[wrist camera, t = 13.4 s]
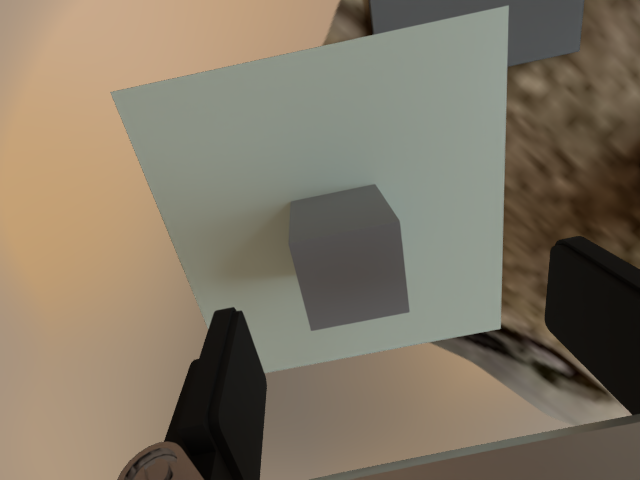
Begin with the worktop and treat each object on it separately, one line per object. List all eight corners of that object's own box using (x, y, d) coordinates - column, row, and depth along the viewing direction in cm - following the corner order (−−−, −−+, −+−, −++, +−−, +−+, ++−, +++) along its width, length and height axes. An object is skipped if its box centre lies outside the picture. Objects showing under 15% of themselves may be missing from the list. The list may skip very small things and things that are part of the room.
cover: (394, 38, 31) (593, -20, 10) (410, 212, 38) (549, 391, 17) (210, 78, 31) (38, 101, 11) (259, 243, 38) (212, 452, 17)
